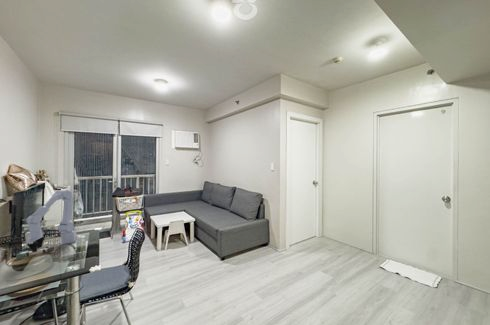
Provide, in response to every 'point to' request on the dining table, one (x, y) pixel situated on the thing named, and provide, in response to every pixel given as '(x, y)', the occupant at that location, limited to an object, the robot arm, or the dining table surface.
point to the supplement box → (27, 236)
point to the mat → (52, 246)
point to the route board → (22, 256)
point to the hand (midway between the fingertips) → (37, 249)
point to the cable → (39, 251)
